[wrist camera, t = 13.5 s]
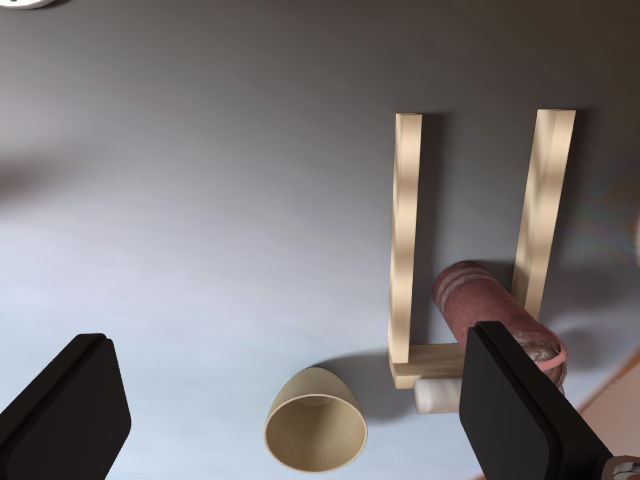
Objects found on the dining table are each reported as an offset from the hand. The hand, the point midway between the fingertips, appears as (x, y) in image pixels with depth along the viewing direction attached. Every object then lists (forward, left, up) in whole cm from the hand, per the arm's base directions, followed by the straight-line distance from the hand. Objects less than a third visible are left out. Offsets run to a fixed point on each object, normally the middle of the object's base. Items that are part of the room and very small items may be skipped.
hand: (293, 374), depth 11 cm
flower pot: (+24, 0, -28) cm, 37 cm away
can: (+12, +15, -28) cm, 35 cm away
